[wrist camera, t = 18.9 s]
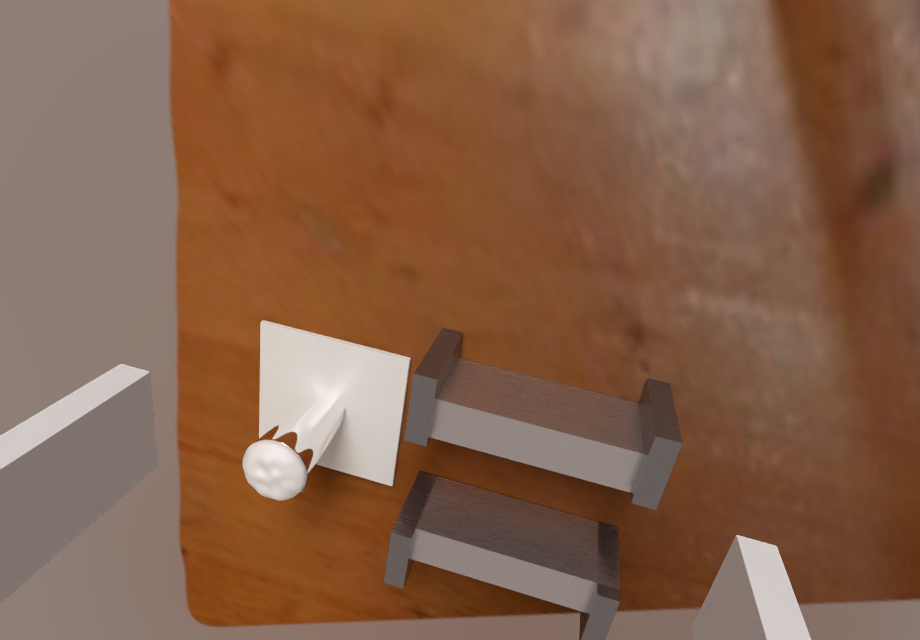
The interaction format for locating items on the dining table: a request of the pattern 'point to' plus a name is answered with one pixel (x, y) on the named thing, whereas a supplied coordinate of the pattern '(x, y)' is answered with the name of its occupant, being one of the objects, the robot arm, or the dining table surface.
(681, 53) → the dining table surface
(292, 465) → the milkshake
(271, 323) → the pad
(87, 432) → the robot arm
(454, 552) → the brackets
